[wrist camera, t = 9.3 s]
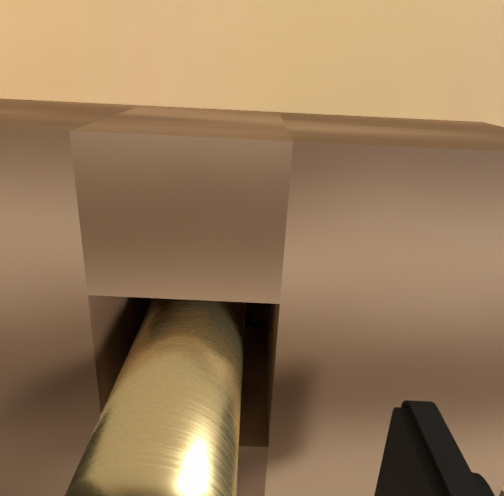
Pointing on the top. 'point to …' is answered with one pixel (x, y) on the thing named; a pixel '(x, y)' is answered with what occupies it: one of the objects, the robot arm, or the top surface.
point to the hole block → (253, 279)
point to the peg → (172, 407)
